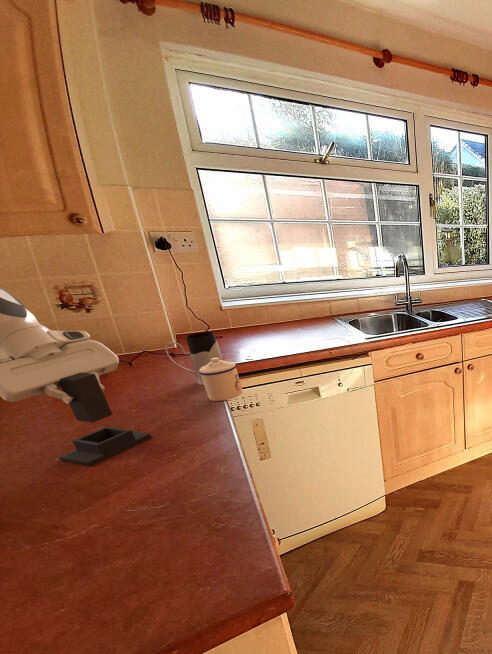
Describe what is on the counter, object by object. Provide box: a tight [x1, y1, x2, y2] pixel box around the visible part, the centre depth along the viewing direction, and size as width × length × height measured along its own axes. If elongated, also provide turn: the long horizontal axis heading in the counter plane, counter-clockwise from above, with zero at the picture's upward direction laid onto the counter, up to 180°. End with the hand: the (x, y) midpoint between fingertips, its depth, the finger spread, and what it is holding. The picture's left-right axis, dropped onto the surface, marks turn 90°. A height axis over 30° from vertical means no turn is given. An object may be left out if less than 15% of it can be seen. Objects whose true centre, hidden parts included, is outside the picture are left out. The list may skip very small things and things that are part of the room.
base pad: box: [59, 426, 152, 467], centre depth 97 cm, size 13×9×4 cm
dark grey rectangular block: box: [59, 373, 113, 424], centre depth 93 cm, size 4×5×10 cm
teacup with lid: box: [199, 358, 244, 402], centre depth 124 cm, size 12×9×12 cm
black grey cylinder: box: [164, 331, 224, 386], centre depth 134 cm, size 9×14×15 cm, turn 114°
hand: (87, 395), depth 92 cm, fingers closed on dark grey rectangular block, 4 cm apart
